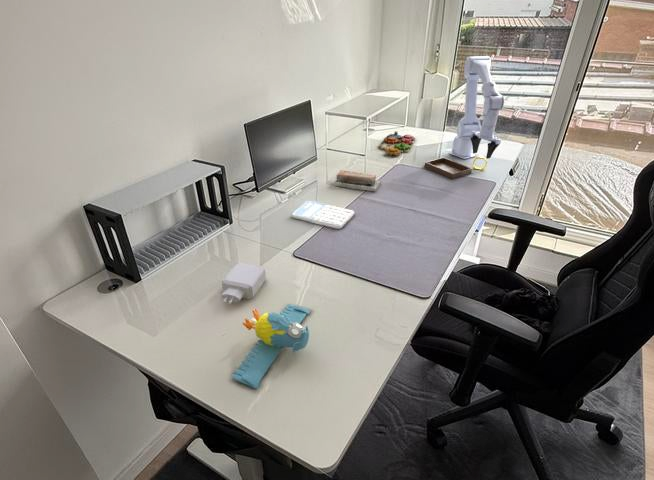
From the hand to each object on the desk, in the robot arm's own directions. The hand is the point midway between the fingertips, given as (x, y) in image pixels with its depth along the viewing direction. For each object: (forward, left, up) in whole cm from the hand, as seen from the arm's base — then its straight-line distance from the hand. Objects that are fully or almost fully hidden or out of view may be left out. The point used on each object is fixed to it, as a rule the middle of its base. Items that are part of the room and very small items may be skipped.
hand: (481, 155), depth 190 cm
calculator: (0, -86, -7) cm, 86 cm away
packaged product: (-16, -58, -7) cm, 61 cm away
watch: (0, 0, -7) cm, 7 cm away
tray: (-7, -13, -6) cm, 16 cm away
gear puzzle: (-44, -12, -7) cm, 46 cm away
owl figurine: (+50, -132, -7) cm, 141 cm away
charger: (+26, -131, -7) cm, 134 cm away
